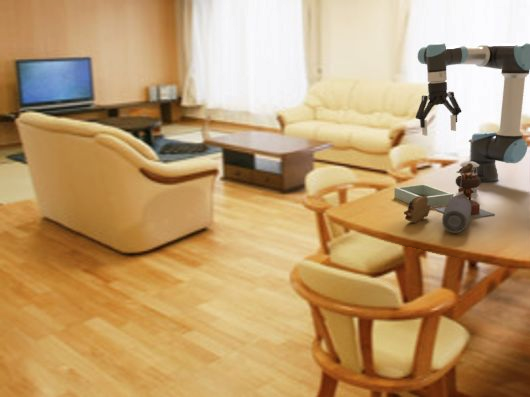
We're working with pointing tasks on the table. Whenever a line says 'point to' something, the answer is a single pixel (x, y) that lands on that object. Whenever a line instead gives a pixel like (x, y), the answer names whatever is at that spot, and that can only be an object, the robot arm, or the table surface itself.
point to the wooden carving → (417, 209)
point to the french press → (470, 173)
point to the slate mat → (481, 214)
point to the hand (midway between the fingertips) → (439, 132)
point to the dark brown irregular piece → (468, 186)
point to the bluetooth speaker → (457, 214)
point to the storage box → (434, 194)
